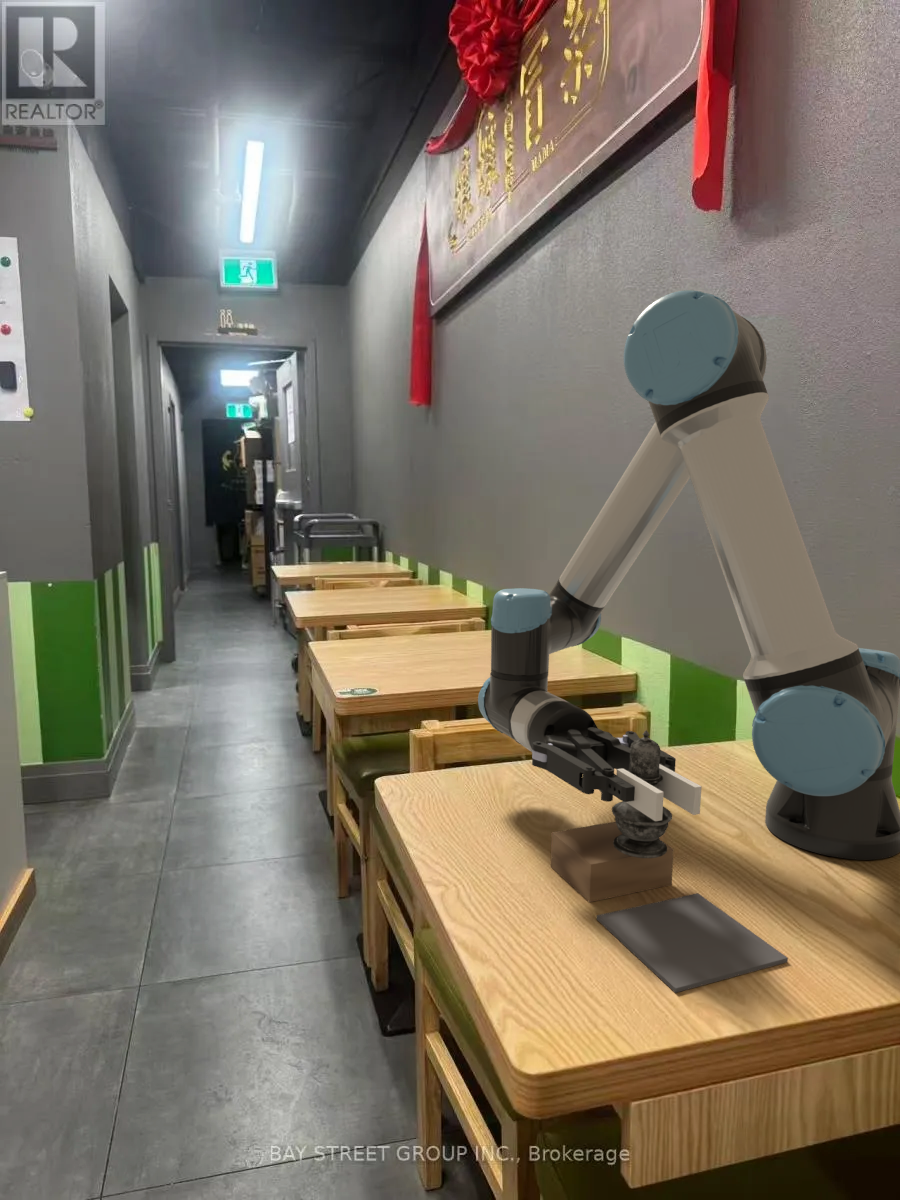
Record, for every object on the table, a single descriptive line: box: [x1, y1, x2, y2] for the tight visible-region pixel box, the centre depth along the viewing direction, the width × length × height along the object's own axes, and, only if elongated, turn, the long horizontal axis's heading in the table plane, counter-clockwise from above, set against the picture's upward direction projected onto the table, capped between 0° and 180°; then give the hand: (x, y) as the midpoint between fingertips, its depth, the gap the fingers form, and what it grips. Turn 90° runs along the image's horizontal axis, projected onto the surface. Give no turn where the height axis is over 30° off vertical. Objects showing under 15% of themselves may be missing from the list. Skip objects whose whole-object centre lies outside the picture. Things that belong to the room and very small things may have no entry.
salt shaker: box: [611, 730, 673, 858], centre depth 78 cm, size 6×6×12 cm
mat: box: [596, 892, 789, 993], centre depth 72 cm, size 12×12×1 cm
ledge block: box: [550, 821, 674, 903], centre depth 84 cm, size 8×10×4 cm
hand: (678, 803), depth 73 cm, fingers closed on salt shaker, 4 cm apart
